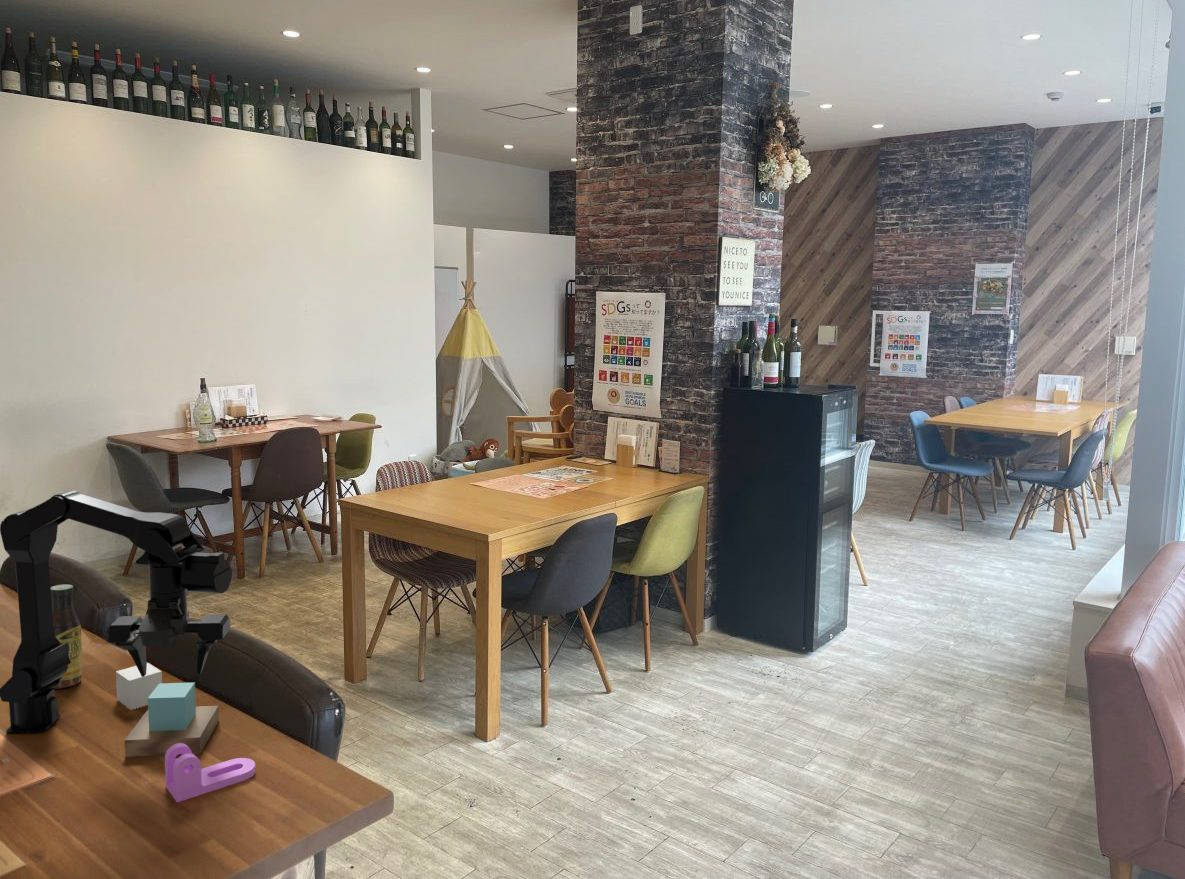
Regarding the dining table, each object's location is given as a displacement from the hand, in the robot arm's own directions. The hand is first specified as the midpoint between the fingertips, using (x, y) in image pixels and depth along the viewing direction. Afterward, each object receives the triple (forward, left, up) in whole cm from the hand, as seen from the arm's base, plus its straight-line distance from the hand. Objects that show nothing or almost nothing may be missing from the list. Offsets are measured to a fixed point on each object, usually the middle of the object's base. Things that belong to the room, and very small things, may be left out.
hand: (171, 674), depth 155 cm
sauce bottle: (-28, +25, -12) cm, 39 cm away
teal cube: (0, 0, -9) cm, 9 cm away
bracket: (+11, -15, -12) cm, 22 cm away
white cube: (-11, +16, -12) cm, 23 cm away
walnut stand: (0, 0, -12) cm, 12 cm away
